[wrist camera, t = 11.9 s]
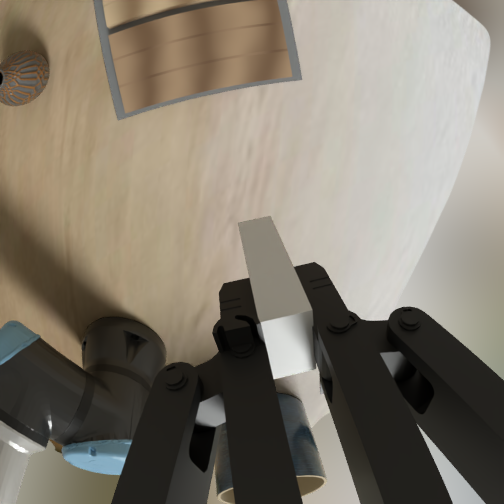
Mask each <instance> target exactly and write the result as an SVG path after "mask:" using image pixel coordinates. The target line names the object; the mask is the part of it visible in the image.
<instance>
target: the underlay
mask: <svg viewBox="0 0 504 504" xmlns="http://www.w3.org/2000/svg"><path fill="white" fill-rule="evenodd" d="M245 1H254V0H215V1H210V2H204V3H199V4H195V5H190V6H186V7H181V8H177V9H173V10H169V11H165V12H162V13H158V14H155V15H151V16H148V17H144V18H141V19H138V20H135V21H132V22H129V23H126V24H123V25H120V26H118V27H115V28H112V29H110V28H108V27H107V26H106V20H105V14H104V7H103V1H102V0H94V6H95V12H96V19H97V25H98V30H99V36H100V42H101V47H102V52H103V57H104V62H105V67H106V72H107V76H108V81H109V85H110V90H111V94H112V98H113V102H114V106H115V110H116V114H117V118H118V120H121V119H124V118H127V117H130V116H133V115H136V114H139V113H142V112H146V111H149V110H152V109H156V108H159V107H163V106H166V105H170V104H174V103H177V102H181V101H185V100H189V99H193V98H198V97H202V96H206V95H211V94H215V93H220V92H225V91H230V90H235V89H241V88H247V87H252V86H259V85H265V84H272V83H279V82H287V81H296V80H302V76H301V70H300V64H299V59H298V53H297V48H296V43H295V38H294V33H293V28H292V23H291V18H290V13H289V9H288V4H287V0H277V1H278V6H279V10H280V15H281V20H282V25H283V29H284V34H285V39H286V44H287V49H288V55H289V60H290V66H291V71H292V77H287V78H279V79H271V80H264V81H258V82H252V83H246V84H240V85H234V86H229V87H224V88H219V89H214V90H210V91H205V92H201V93H197V94H192V95H188V96H184V97H180V98H176V99H173V100H169V101H165V102H162V103H158V104H155V105H151V106H148V107H145V108H142V109H138V110H135V111H132V112H129V113H126V114H125V110H124V106H123V102H122V98H121V94H120V89H119V85H118V81H117V76H116V71H115V67H114V62H113V57H112V52H111V47H110V42H109V37H108V36H109V35H111V34H114V33H117V32H119V31H122V30H125V29H128V28H131V27H134V26H137V25H140V24H143V23H147V22H150V21H153V20H157V19H160V18H164V17H168V16H171V15H175V14H179V13H184V12H188V11H193V10H197V9H202V8H207V7H213V6H218V5H224V4H231V3H238V2H245Z"/></svg>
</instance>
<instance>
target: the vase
mask: <svg viewBox="0 0 504 504" xmlns="http://www.w3.org/2000/svg"><path fill="white" fill-rule="evenodd" d="M48 79H49V66H48V63H47V61H46V60H45V58H44V57H43V56H42V55H40V54H39V53H37V52H33V51H19V52H16V53H14V54H12V55H10V56H8V57H7V58H6V59H4V60H3V61H2V62H1V63H0V102H1V103H3V104H5V105H9V106H20V105H24V104H27V103H29V102H31V101H33V100H34V99H35V98H37V97H38V96H39V95H40V94H41V93H42V91H43V90H44V88H45V87H46V85H47V82H48Z"/></svg>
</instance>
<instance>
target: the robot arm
mask: <svg viewBox="0 0 504 504" xmlns="http://www.w3.org/2000/svg"><path fill="white" fill-rule="evenodd" d="M238 226H239V231H240V235H241V240H242V245H243V250H244V254H245V259H246V264H247V268H248V273H249V278H246V279H242V280H237V281H233V282H228V283H224V284H223V286H222V288H221V290H220V292H219V301H220V311H221V312H220V315H221V319H220V320H218V322H217V323H216V324H215V326H214V328H213V332H212V334H213V337H214V339H215V342H216V345H217V347H218V350H219V352H218V353H217V354H216V355H215V356H214V357H213V358H212V359H210V360H209V361H207V362H205V363H203V364H201V365H198V366H196V367H193V366H192V365H190V364H188V363H184V362H178V363H172V364H170V365H167V366H165V363H166V349H165V346H164V344H163V342H162V340H161V339H160V338H159V337H158V335H157V334H155V333H154V332H153V331H152V330H151V329H149V328H148V327H146V326H144V325H142V324H141V323H138V322H136V321H133V320H130V319H126V318H119V317H108V318H102V319H99V320H97V321H95V322H93V323H92V324H91V325H90V326H89V327H88V328H87V330H86V332H85V335H84V337H83V340H82V363H83V369H82V368H81V367H79V366H78V365H76V364H75V363H74V362H72V361H71V360H69V359H68V358H66V357H65V356H64V355H62V354H61V353H60V352H58V351H57V350H56V349H54V348H53V347H52V346H50V345H49V344H48V343H46V342H45V341H44V340H43V339H41V338H40V337H41V336H40V335H38V334H35V333H34V332H32V331H31V330H30V329H28V328H27V327H26V326H24V325H23V324H22V323H20V322H18V321H14V320H13V321H9V322H7V323H6V324H5V325H4V326H3V327H2V328H1V329H0V504H16V501H17V497H18V493H19V490H20V487H21V483H22V480H23V476H24V473H25V470H26V467H27V464H28V461H29V458H30V455H31V454H33V453H35V452H40V451H43V450H45V449H46V446H47V443H48V440H49V439H51V440H54V441H55V442H57V443H59V444H61V445H62V446H63V448H62V454H63V457H64V459H65V460H66V461H68V462H69V463H70V464H72V465H74V466H76V467H79V468H81V469H85V470H88V471H92V472H97V473H102V474H113V475H120V478H119V481H118V484H117V487H116V490H115V493H114V497H113V500H112V503H111V504H207V499H208V494H209V489H210V483H211V479H212V474H213V469H214V464H215V458H216V453H217V448H218V443H219V438H220V433H221V427H222V423H225V422H226V429H227V439H228V448H229V457H230V466H231V475H232V483H233V491H234V499H235V504H303V502H302V498H301V494H300V490H299V485H298V481H297V477H296V473H295V468H294V464H293V460H292V456H291V452H290V447H289V443H288V439H287V435H286V430H285V426H284V422H283V417H282V413H281V409H280V404H279V400H278V396H277V392H276V387H275V383H274V379H277V378H281V377H286V376H290V375H294V374H298V373H302V372H306V371H310V370H314V369H316V363H317V366H318V369H319V372H320V394H323V393H324V395H325V398H326V400H327V403H328V406H329V409H330V412H331V415H332V418H333V421H334V424H335V427H336V430H337V433H338V436H339V439H340V442H341V445H342V448H343V451H344V454H345V457H346V460H347V463H348V466H349V469H350V472H351V475H352V478H353V482H354V485H355V488H356V491H357V494H358V497H359V500H360V503H361V504H453V503H452V500H451V498H450V496H449V493H448V491H447V489H446V486H445V484H444V482H443V480H442V477H441V475H440V472H439V470H438V468H437V466H436V464H435V462H434V459H433V457H432V455H431V453H430V451H429V448H428V447H427V444H426V442H425V440H424V438H423V436H422V434H421V432H420V430H419V428H418V426H417V424H418V425H419V427H420V428H421V429H422V430H423V431H424V432H425V434H426V435H427V436H428V437H429V438H430V439H431V440H432V442H433V443H434V444H435V445H436V446H437V447H438V448H439V450H440V451H441V452H442V453H443V454H444V455H445V456H446V458H447V459H448V460H449V461H450V462H451V463H452V465H453V466H454V467H455V468H456V469H457V471H458V472H459V473H460V474H461V475H462V476H463V477H464V479H465V480H466V481H467V482H468V483H469V484H470V486H471V487H472V488H473V489H474V490H475V491H476V493H477V494H478V495H479V496H480V497H481V499H482V500H483V501H484V502H485V503H486V504H504V380H503V379H501V378H500V377H499V376H498V375H497V374H496V373H495V372H494V371H493V370H492V369H490V368H489V367H488V366H487V365H486V364H485V363H484V362H483V361H482V360H480V359H479V358H478V357H477V356H476V355H475V354H474V353H472V352H471V351H470V350H469V349H468V348H467V347H466V346H464V345H463V344H462V343H461V342H460V341H459V340H457V339H456V338H455V337H454V336H453V335H452V334H450V333H449V332H448V331H447V330H446V329H444V328H443V327H442V326H441V325H440V324H438V323H437V322H436V321H435V320H434V319H432V318H431V317H430V316H429V315H427V314H426V313H425V312H423V311H422V310H420V309H418V308H414V307H402V308H399V309H396V310H395V311H393V312H392V313H391V314H390V317H389V319H388V320H383V321H366V320H362V319H360V318H359V317H358V316H357V314H355V313H353V312H351V311H348V309H347V307H346V306H345V304H344V302H343V300H342V299H341V297H340V295H339V293H338V292H337V290H336V288H335V286H334V285H333V283H332V281H331V279H330V278H329V276H328V274H327V272H326V271H325V269H324V268H323V267H321V266H320V265H318V264H317V263H315V262H313V263H309V264H304V265H300V266H296V267H293V264H292V262H291V260H290V258H289V256H288V253H287V251H286V249H285V247H284V244H283V242H282V240H281V238H280V236H279V234H278V231H277V229H276V227H275V225H274V223H273V220H272V218H271V216H268V217H263V218H259V219H254V220H249V221H245V222H240V223H238Z"/></svg>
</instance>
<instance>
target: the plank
mask: <svg viewBox="0 0 504 504" xmlns="http://www.w3.org/2000/svg"><path fill="white" fill-rule="evenodd" d="M102 1H103V7H104V14H105V20H106V26H107V27H108V28H110V29H112V28H115V27H118V26H120V25H123V24H126V23H129V22H132V21H135V20H138V19H141V18H144V17H148V16H151V15H155V14H158V13H162V12H165V11H169V10H173V9H177V8H181V7H186V6H190V5H195V4H199V3H204V2H210V1H215V0H102Z"/></svg>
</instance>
